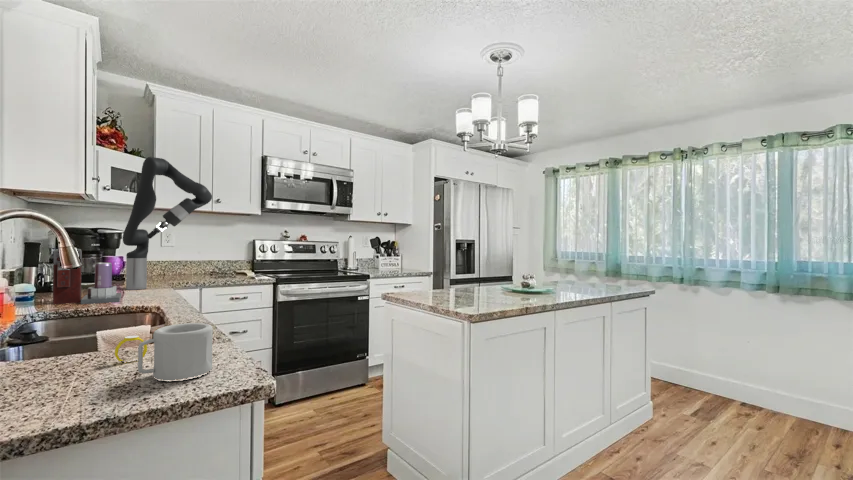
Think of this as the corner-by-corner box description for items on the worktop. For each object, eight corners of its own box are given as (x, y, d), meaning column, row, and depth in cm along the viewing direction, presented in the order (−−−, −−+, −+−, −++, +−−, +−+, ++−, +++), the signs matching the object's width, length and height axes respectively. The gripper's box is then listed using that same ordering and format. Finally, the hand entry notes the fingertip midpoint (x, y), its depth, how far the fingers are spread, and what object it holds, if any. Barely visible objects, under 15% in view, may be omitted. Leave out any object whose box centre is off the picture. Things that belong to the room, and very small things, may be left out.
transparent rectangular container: (85, 299, 183) (85, 286, 183) (121, 296, 190) (121, 284, 190) (80, 304, 168) (80, 290, 168) (119, 301, 176) (119, 288, 176)
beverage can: (114, 295, 182) (115, 262, 182) (103, 296, 176) (104, 263, 176) (102, 294, 183) (103, 262, 183) (90, 296, 177) (91, 263, 177)
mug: (200, 363, 92) (200, 320, 92) (220, 373, 85) (221, 327, 85) (129, 378, 81) (130, 330, 81) (146, 391, 75) (147, 339, 75)
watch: (143, 359, 95) (146, 334, 96) (147, 361, 94) (149, 336, 94) (112, 362, 91) (115, 336, 91) (115, 365, 89) (118, 338, 89)
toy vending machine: (52, 305, 165) (53, 238, 165) (54, 302, 174) (54, 238, 173) (81, 303, 171) (81, 238, 171) (81, 300, 179) (81, 238, 179)
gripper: (169, 210, 206) (142, 231, 199) (170, 209, 194) (141, 231, 187) (181, 221, 209) (154, 242, 202) (182, 220, 197) (154, 243, 190)
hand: (148, 237), depth 195 cm, fingers open, 8 cm apart
